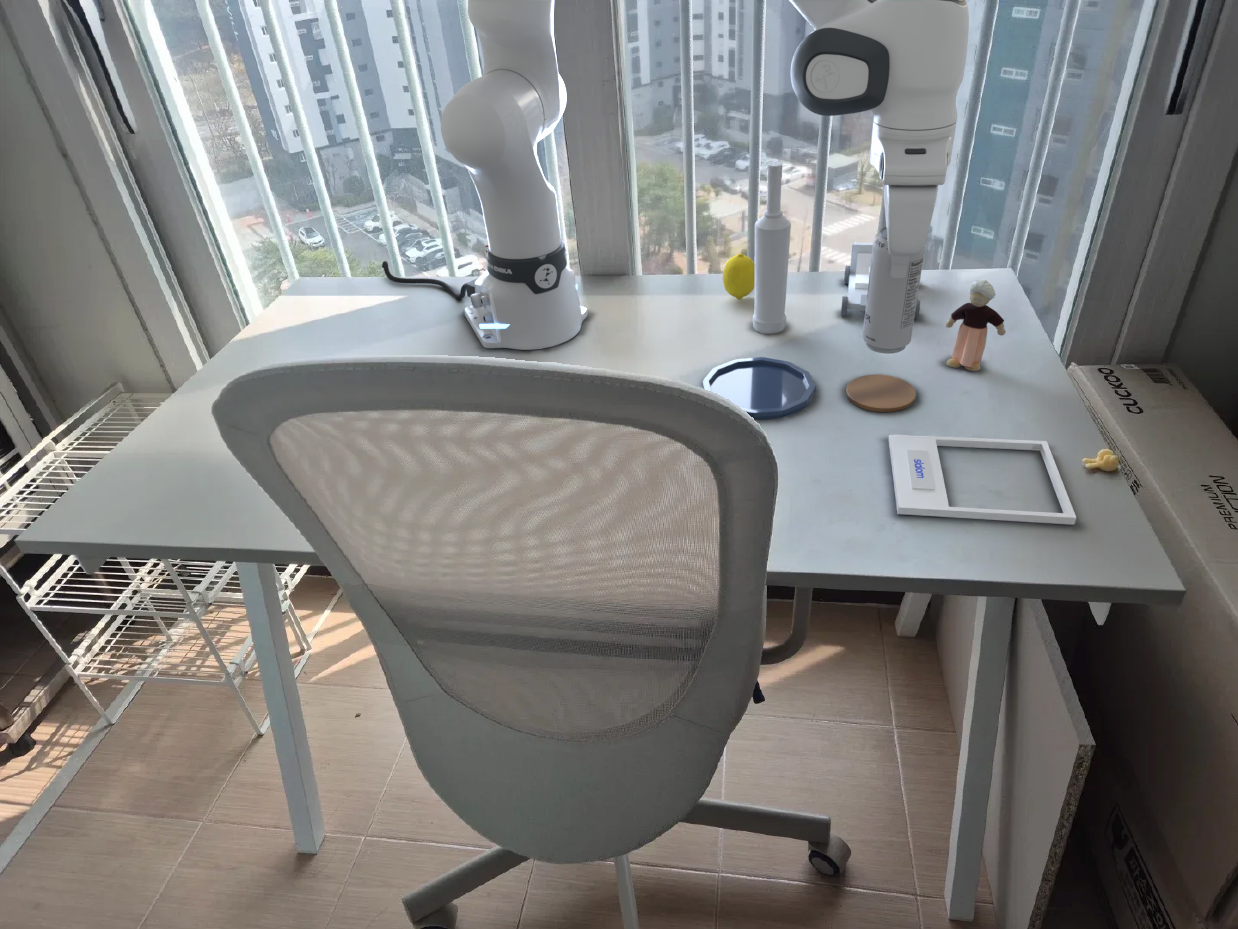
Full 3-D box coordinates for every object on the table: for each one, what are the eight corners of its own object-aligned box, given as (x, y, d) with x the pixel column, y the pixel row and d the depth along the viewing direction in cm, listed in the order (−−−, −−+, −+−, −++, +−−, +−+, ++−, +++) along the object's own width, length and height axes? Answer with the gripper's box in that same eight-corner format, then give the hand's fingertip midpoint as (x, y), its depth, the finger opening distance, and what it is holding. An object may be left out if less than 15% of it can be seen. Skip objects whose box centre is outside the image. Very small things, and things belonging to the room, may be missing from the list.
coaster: (831, 392, 116) (832, 388, 116) (879, 371, 120) (879, 367, 119) (881, 419, 110) (882, 415, 109) (930, 397, 113) (930, 393, 113)
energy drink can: (869, 330, 114) (882, 220, 105) (915, 339, 111) (932, 227, 103) (855, 350, 110) (868, 237, 101) (902, 359, 107) (919, 244, 98)
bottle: (785, 334, 131) (793, 169, 116) (751, 333, 132) (754, 169, 117) (786, 320, 135) (794, 158, 120) (753, 319, 136) (757, 158, 122)
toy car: (927, 268, 123) (845, 265, 126) (918, 330, 129) (839, 326, 132) (923, 224, 138) (849, 223, 140) (915, 281, 143) (844, 279, 146)
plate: (681, 387, 120) (681, 379, 119) (764, 354, 126) (764, 347, 125) (750, 432, 109) (751, 424, 109) (837, 395, 115) (837, 387, 115)
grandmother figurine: (938, 369, 119) (952, 284, 112) (939, 356, 122) (953, 272, 115) (997, 375, 117) (1016, 288, 109) (997, 362, 120) (1015, 277, 112)
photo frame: (889, 433, 105) (1047, 439, 101) (888, 440, 105) (1044, 447, 102) (898, 506, 93) (1076, 516, 90) (897, 514, 94) (1074, 524, 90)
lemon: (723, 292, 145) (723, 247, 140) (756, 292, 144) (757, 246, 140) (721, 306, 140) (722, 260, 136) (756, 306, 140) (757, 259, 135)
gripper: (879, 123, 105) (868, 232, 113) (884, 174, 89) (870, 297, 97) (933, 122, 104) (918, 233, 112) (948, 174, 88) (929, 299, 95)
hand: (896, 263), depth 104 cm, fingers closed on energy drink can, 6 cm apart
